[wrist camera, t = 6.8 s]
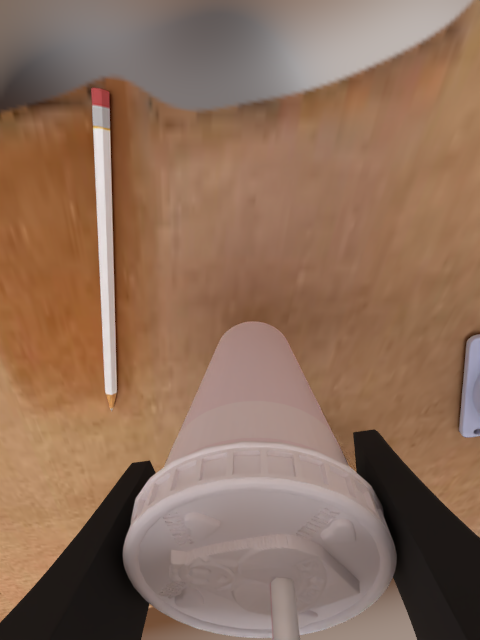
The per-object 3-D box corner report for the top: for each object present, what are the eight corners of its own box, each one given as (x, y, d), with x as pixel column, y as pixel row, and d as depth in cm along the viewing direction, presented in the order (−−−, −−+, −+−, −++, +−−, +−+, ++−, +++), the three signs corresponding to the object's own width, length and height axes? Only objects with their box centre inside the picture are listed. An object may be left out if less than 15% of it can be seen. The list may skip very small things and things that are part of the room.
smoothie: (301, 411, 18) (433, 1033, 5) (184, 396, 17) (11, 1011, 5) (332, 305, 15) (806, 1088, 2) (195, 285, 15) (-154, 1037, 2)
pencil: (112, 93, 15) (106, 89, 14) (119, 408, 23) (115, 415, 22) (94, 89, 15) (87, 86, 14) (108, 407, 23) (104, 414, 22)
